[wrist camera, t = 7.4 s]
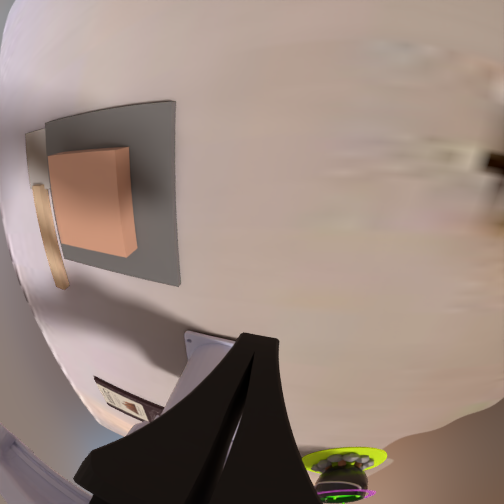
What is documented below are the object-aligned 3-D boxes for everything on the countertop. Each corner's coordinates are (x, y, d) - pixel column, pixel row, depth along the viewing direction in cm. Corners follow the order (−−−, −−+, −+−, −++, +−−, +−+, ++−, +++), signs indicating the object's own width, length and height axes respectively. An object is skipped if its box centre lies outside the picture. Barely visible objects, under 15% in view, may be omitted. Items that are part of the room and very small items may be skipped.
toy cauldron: (337, 439, 30) (330, 508, 20) (404, 451, 30) (406, 507, 21) (283, 463, 37) (272, 515, 28) (347, 476, 38) (342, 522, 28)
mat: (181, 283, 22) (178, 286, 22) (67, 256, 24) (64, 258, 24) (175, 101, 16) (172, 101, 15) (48, 122, 18) (45, 123, 17)
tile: (126, 257, 19) (61, 243, 21) (138, 247, 21) (73, 235, 22) (115, 150, 16) (47, 156, 17) (130, 146, 17) (62, 151, 18)
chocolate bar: (198, 442, 37) (108, 405, 40) (199, 438, 38) (110, 401, 40) (195, 421, 33) (93, 378, 35) (197, 416, 34) (96, 374, 36)
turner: (77, 288, 26) (72, 292, 25) (54, 279, 27) (49, 284, 26) (50, 127, 18) (42, 128, 17) (28, 133, 19) (21, 135, 18)
